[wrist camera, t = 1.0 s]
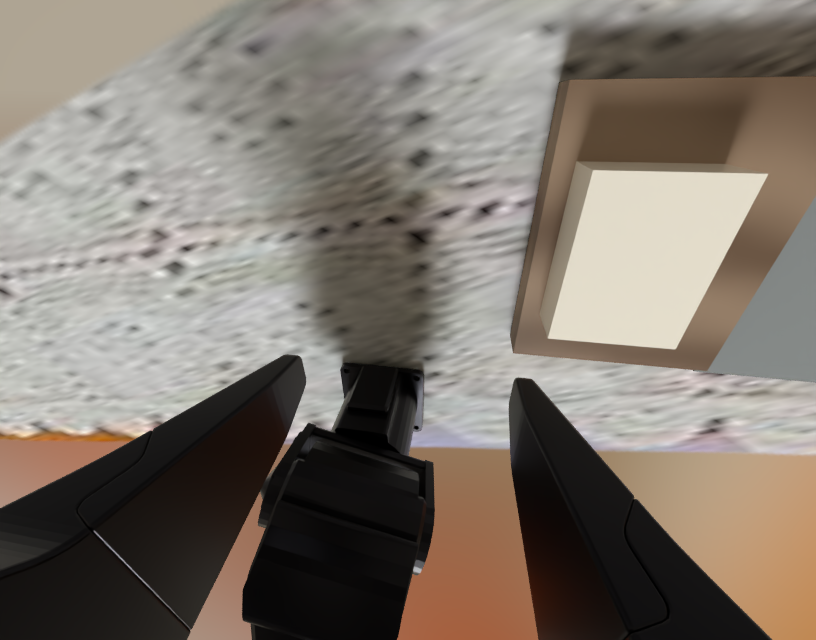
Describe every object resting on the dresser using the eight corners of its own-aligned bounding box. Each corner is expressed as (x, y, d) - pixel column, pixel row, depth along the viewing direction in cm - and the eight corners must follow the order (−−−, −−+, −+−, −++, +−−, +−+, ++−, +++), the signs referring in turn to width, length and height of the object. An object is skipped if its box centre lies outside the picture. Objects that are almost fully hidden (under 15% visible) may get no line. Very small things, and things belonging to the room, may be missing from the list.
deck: (688, 350, 21) (707, 371, 20) (510, 335, 23) (513, 353, 21) (840, 78, 14) (890, 75, 12) (559, 82, 15) (569, 79, 14)
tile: (652, 322, 19) (675, 349, 17) (539, 313, 19) (547, 338, 17) (725, 163, 14) (768, 174, 12) (576, 161, 15) (593, 170, 13)
